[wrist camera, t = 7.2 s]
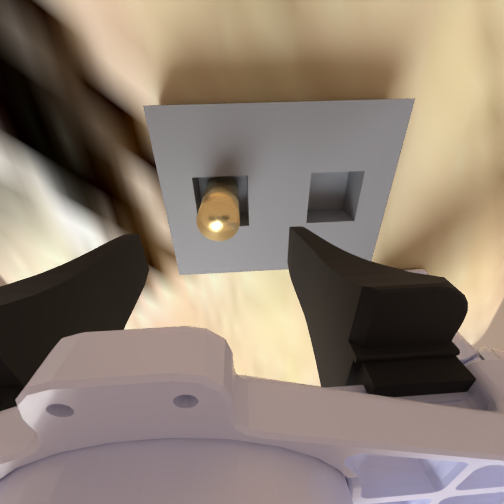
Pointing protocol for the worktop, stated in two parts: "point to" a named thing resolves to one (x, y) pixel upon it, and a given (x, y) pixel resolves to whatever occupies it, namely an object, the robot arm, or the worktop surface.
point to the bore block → (277, 174)
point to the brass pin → (219, 209)
